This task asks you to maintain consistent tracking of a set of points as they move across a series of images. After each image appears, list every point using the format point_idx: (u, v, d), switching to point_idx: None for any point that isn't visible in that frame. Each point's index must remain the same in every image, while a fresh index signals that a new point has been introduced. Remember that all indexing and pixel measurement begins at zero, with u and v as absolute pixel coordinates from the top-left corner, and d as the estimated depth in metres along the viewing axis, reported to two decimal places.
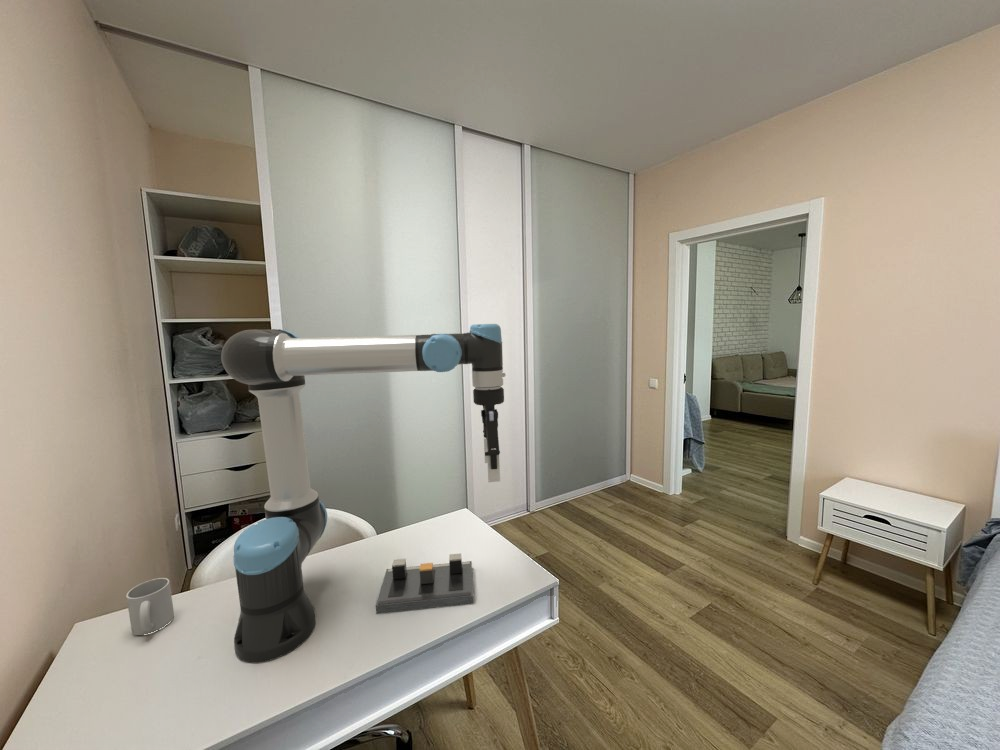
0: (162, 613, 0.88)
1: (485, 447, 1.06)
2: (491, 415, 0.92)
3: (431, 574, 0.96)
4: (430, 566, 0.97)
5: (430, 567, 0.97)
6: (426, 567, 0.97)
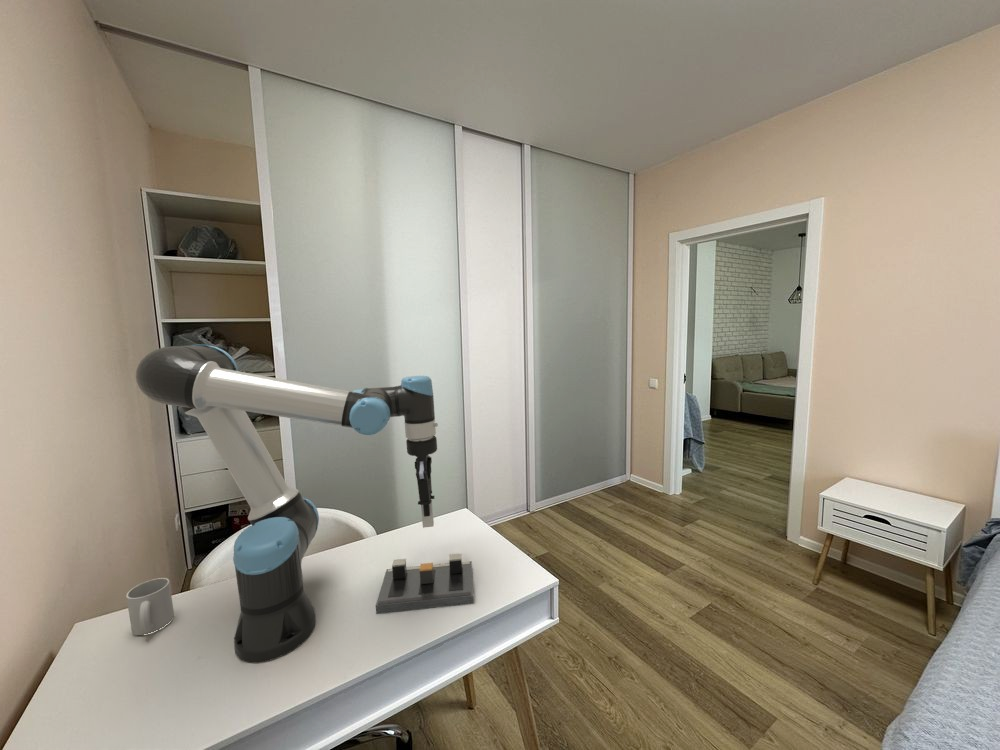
0: (162, 613, 0.88)
1: None
2: (421, 476, 0.96)
3: (431, 574, 0.96)
4: (430, 566, 0.97)
5: (430, 567, 0.97)
6: (426, 567, 0.97)
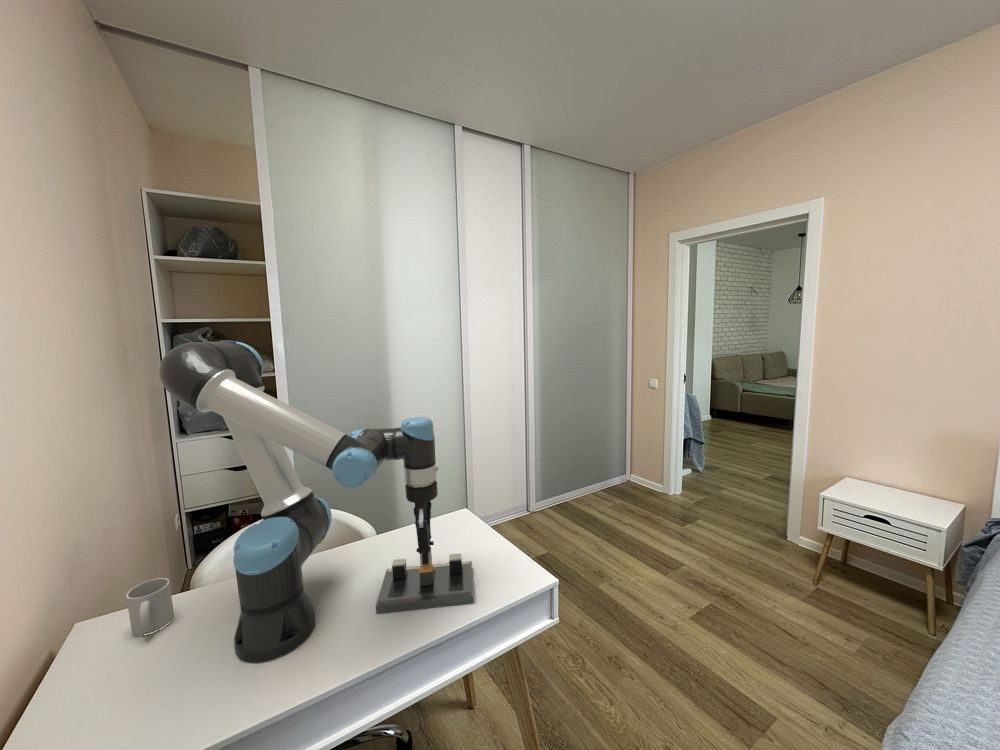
0: (162, 613, 0.88)
1: None
2: (420, 525, 0.91)
3: (431, 576, 0.96)
4: (430, 568, 0.97)
5: (430, 569, 0.96)
6: (425, 569, 0.96)
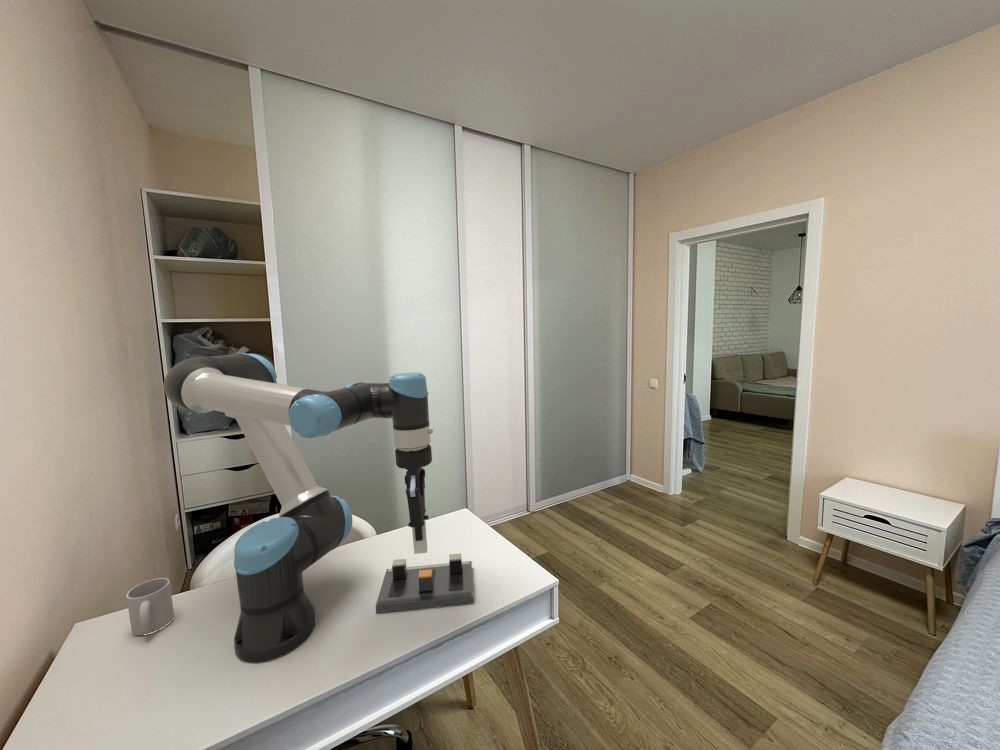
0: (162, 613, 0.88)
1: (414, 533, 0.86)
2: (412, 494, 0.79)
3: (430, 581, 0.94)
4: (429, 573, 0.94)
5: (429, 574, 0.94)
6: (425, 574, 0.94)
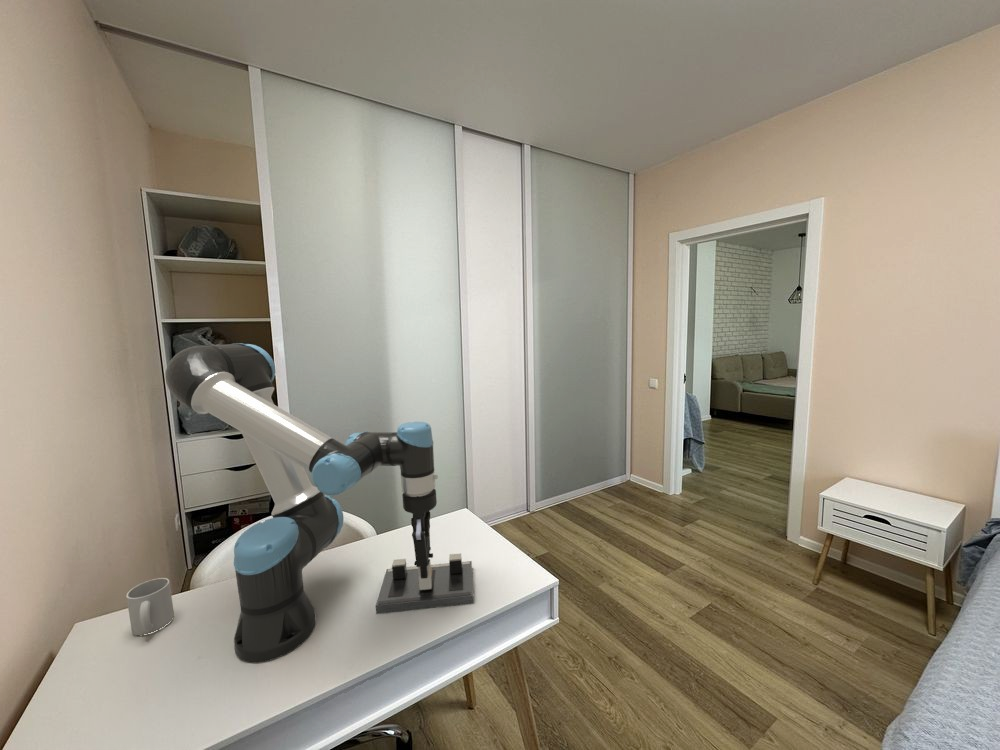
0: (162, 613, 0.88)
1: None
2: (418, 537, 0.86)
3: None
4: None
5: None
6: None
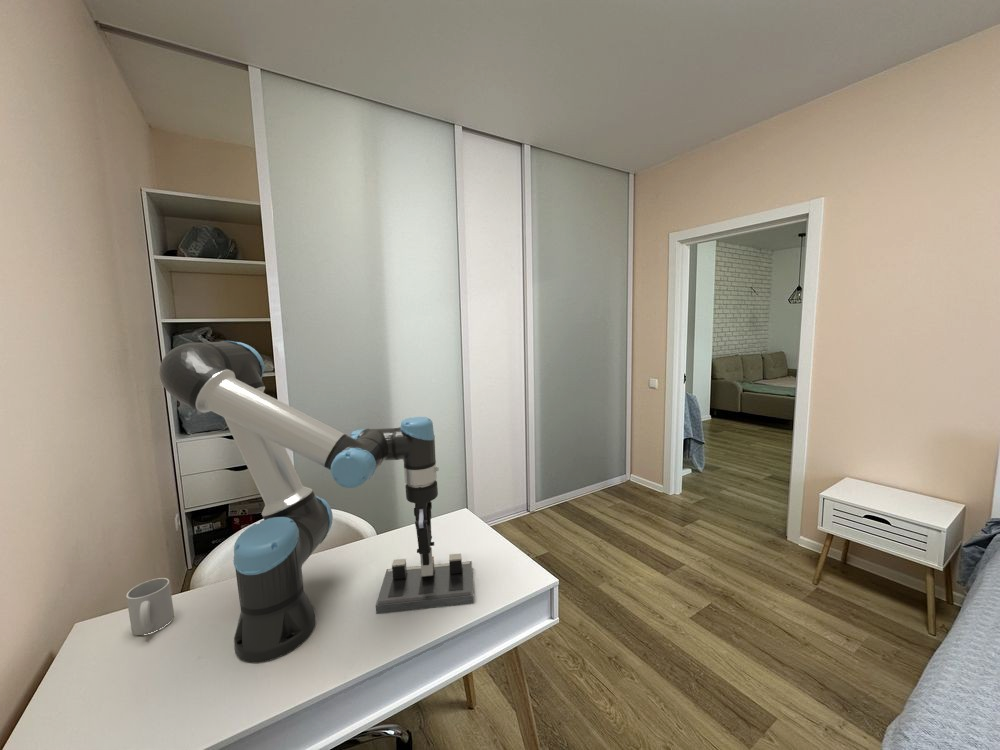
0: (162, 613, 0.88)
1: None
2: (420, 526, 0.91)
3: None
4: None
5: None
6: None
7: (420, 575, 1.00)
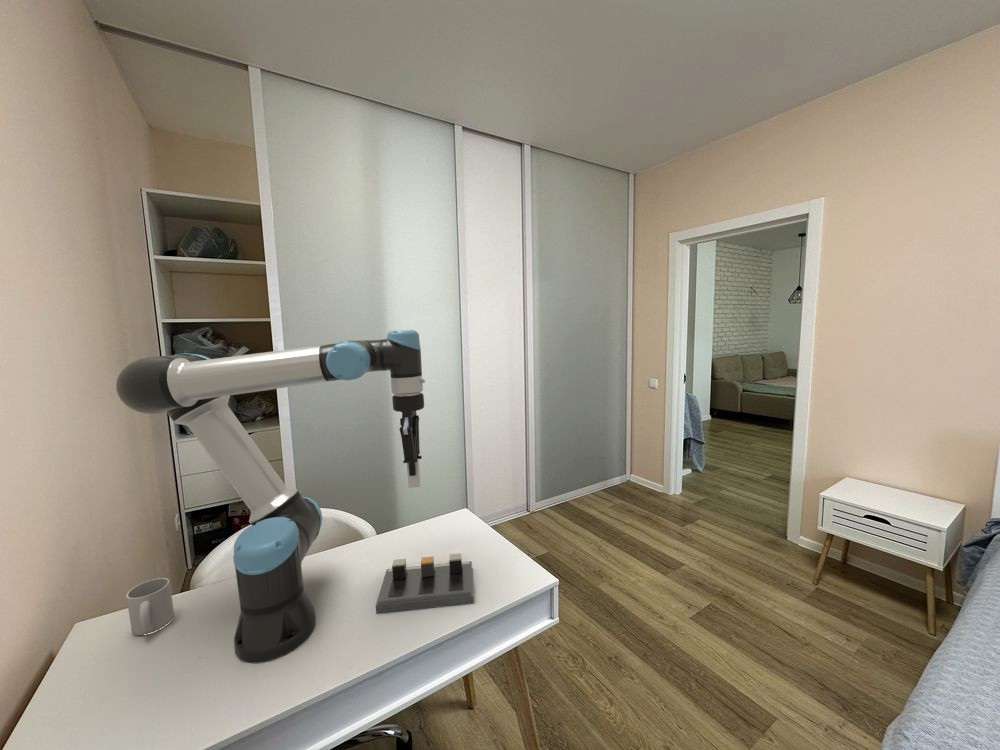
0: (162, 613, 0.88)
1: None
2: (405, 432, 0.93)
3: (432, 567, 0.99)
4: (431, 559, 1.00)
5: (431, 560, 1.00)
6: (427, 561, 0.99)
7: (420, 575, 1.00)
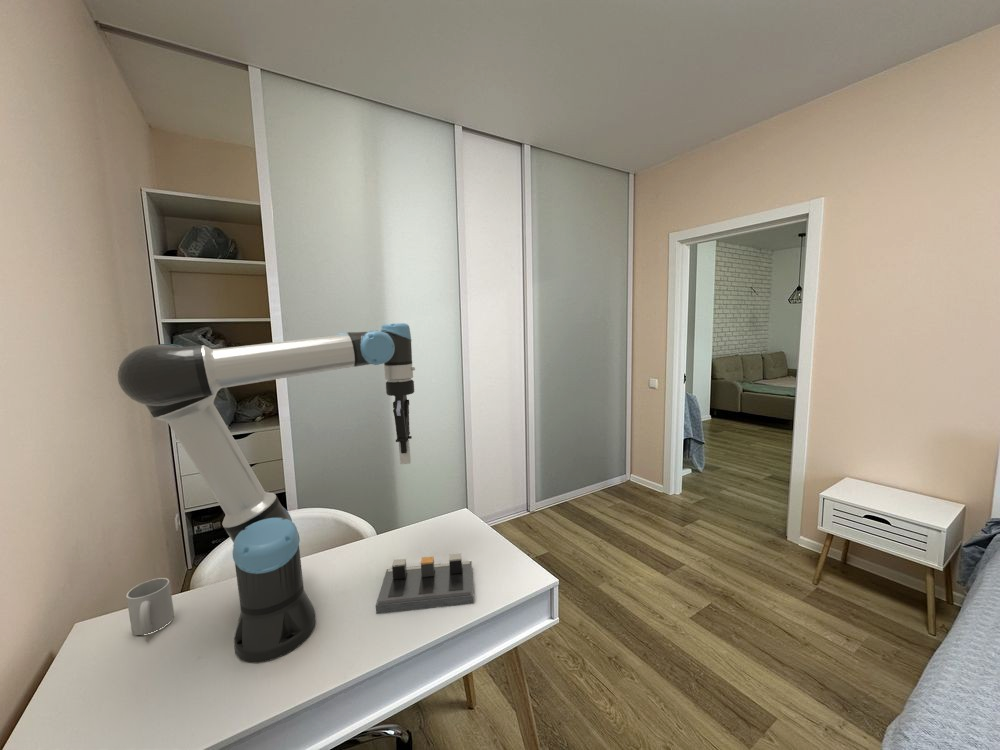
0: (162, 613, 0.88)
1: None
2: (398, 413, 1.05)
3: (432, 567, 0.99)
4: (431, 559, 1.00)
5: (431, 560, 1.00)
6: (427, 561, 0.99)
7: (420, 575, 1.00)
